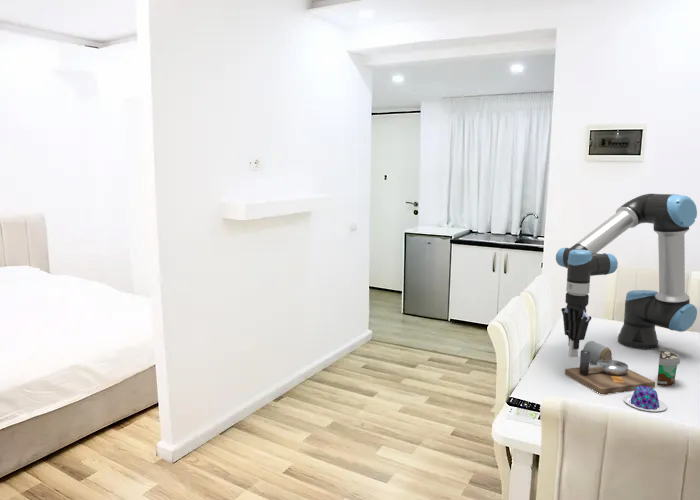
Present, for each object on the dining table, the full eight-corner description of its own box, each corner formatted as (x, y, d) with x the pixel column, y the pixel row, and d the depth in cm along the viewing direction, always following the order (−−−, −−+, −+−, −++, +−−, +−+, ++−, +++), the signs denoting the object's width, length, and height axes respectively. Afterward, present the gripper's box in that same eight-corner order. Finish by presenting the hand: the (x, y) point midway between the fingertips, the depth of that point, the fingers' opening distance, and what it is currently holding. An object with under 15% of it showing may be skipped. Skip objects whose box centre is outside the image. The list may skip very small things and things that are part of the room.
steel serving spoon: (613, 363, 190) (614, 342, 189) (634, 373, 181) (636, 351, 180) (570, 368, 186) (572, 347, 184) (590, 379, 176) (592, 356, 175)
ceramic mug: (600, 367, 193) (602, 348, 191) (581, 360, 200) (582, 341, 199) (617, 363, 198) (619, 344, 197) (598, 356, 205) (600, 338, 204)
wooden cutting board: (614, 368, 192) (615, 362, 192) (654, 387, 175) (655, 381, 175) (564, 374, 187) (565, 368, 186) (601, 394, 169) (601, 388, 169)
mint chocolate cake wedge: (678, 390, 173) (680, 362, 171) (656, 386, 176) (659, 358, 174) (677, 378, 183) (680, 351, 182) (657, 374, 186) (660, 348, 185)
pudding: (625, 409, 160) (627, 393, 159) (621, 394, 171) (622, 379, 170) (670, 416, 155) (671, 400, 155) (662, 400, 166) (664, 384, 166)
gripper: (556, 289, 188) (552, 351, 192) (581, 298, 176) (576, 364, 179) (573, 288, 190) (569, 349, 194) (599, 296, 178) (594, 361, 181)
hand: (572, 356), depth 186 cm, fingers closed
